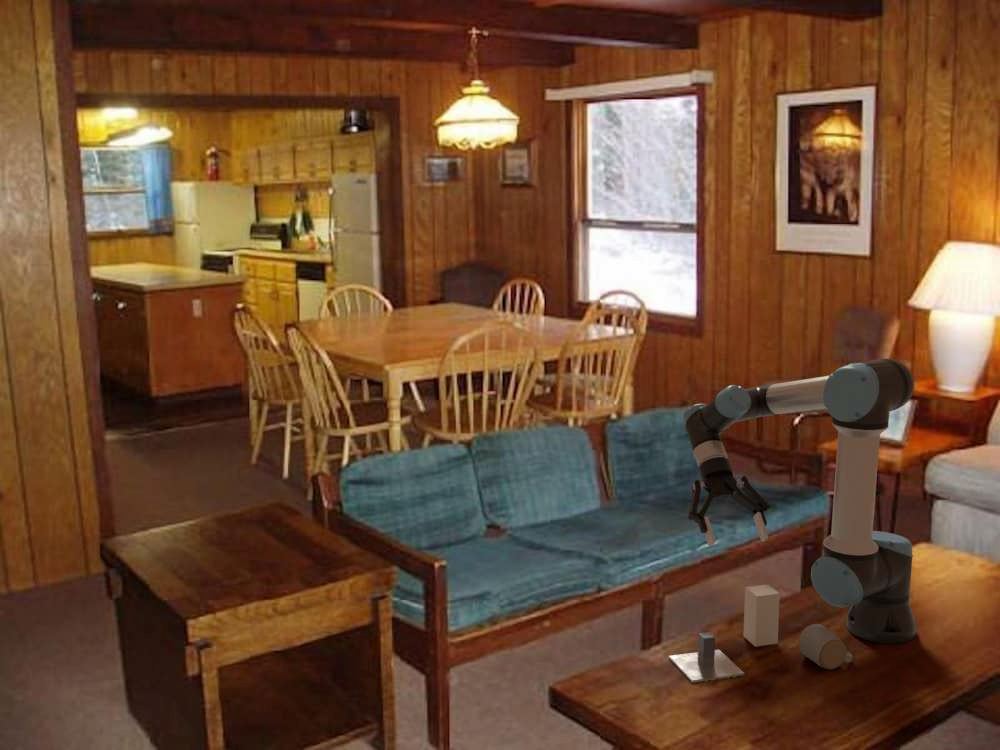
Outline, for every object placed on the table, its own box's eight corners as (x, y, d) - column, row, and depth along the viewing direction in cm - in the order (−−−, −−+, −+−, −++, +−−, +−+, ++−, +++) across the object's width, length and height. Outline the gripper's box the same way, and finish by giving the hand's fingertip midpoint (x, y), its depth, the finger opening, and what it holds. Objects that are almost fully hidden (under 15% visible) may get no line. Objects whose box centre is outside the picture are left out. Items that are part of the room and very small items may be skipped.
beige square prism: (765, 633, 245) (767, 584, 243) (777, 643, 240) (779, 593, 237) (743, 636, 244) (745, 587, 241) (755, 646, 238) (756, 596, 236)
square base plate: (719, 651, 236) (719, 621, 234) (744, 675, 224) (745, 643, 223) (668, 658, 233) (669, 627, 232) (692, 683, 221) (692, 650, 220)
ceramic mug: (819, 674, 225) (821, 640, 223) (796, 658, 232) (798, 625, 231) (860, 667, 228) (863, 633, 227) (836, 651, 236) (839, 619, 235)
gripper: (753, 467, 266) (780, 544, 255) (661, 474, 260) (684, 553, 249) (764, 452, 260) (793, 530, 249) (670, 459, 254) (695, 539, 243)
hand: (738, 542), depth 249 cm, fingers open, 13 cm apart
